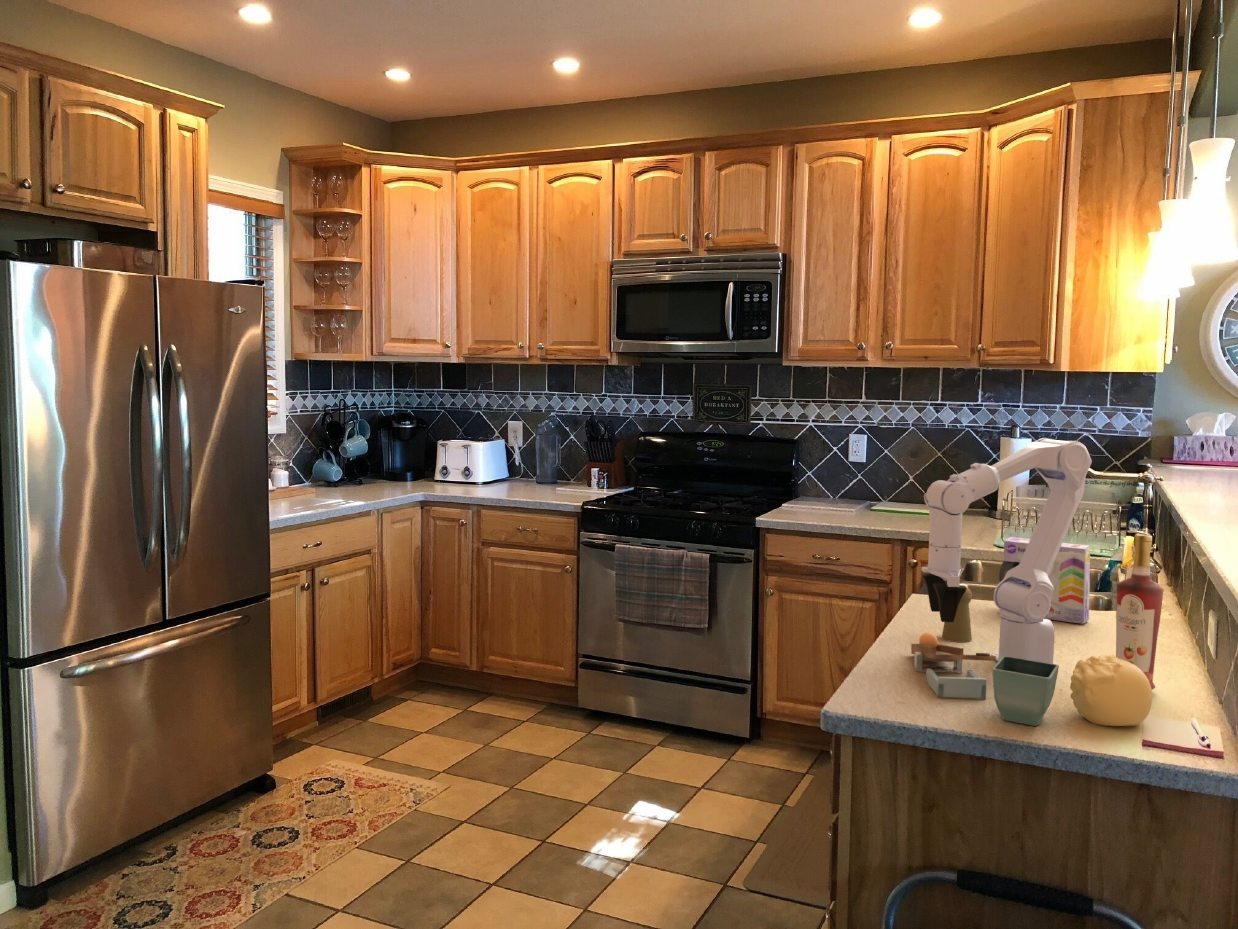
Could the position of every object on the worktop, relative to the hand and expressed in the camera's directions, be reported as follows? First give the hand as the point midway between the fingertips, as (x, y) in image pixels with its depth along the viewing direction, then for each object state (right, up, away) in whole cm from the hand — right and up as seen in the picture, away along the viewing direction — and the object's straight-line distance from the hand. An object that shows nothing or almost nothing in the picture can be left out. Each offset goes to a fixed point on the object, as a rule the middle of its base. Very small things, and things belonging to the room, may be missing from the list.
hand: (942, 616), depth 187 cm
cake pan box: (+37, -7, +43) cm, 57 cm away
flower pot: (+5, -13, -26) cm, 29 cm away
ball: (0, -6, +7) cm, 10 cm away
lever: (+2, -9, +1) cm, 9 cm away
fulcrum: (-1, -10, 0) cm, 10 cm away
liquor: (+31, -12, -10) cm, 34 cm away
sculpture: (+19, -13, -25) cm, 34 cm away
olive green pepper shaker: (+11, -8, +23) cm, 27 cm away
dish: (-1, -11, -11) cm, 16 cm away
